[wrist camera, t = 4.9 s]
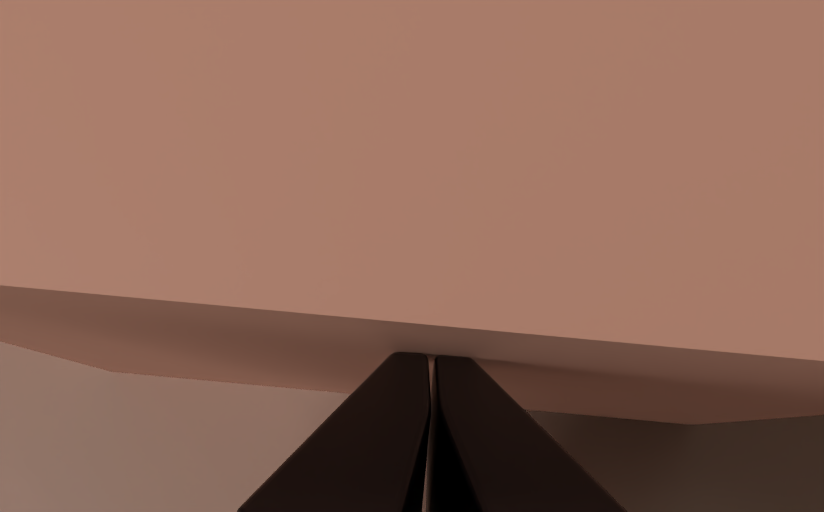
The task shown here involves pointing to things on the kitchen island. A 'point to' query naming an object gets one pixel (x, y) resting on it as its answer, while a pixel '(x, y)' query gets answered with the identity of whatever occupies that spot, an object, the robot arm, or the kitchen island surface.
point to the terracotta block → (424, 195)
